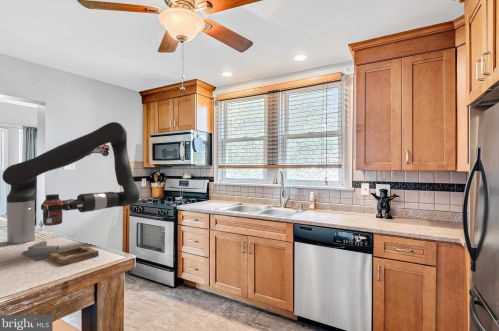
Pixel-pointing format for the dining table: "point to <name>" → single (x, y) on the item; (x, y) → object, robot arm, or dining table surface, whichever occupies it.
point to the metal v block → (40, 250)
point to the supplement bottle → (52, 216)
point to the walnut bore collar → (84, 255)
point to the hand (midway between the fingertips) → (44, 207)
